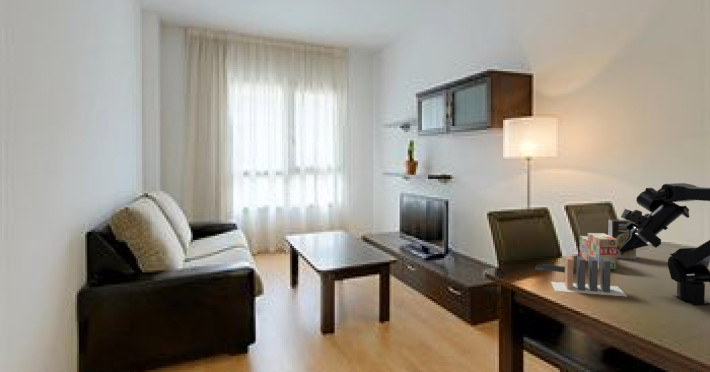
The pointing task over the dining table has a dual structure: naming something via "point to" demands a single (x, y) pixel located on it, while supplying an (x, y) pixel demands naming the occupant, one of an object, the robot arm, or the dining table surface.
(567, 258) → the terracotta domino
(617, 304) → the dining table surface
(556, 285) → the white mat
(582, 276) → the domino
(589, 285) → the domino
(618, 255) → the coffee box
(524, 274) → the dining table surface
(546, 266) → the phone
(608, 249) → the stack of blocks
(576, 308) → the dining table surface
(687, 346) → the dining table surface
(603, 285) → the domino
